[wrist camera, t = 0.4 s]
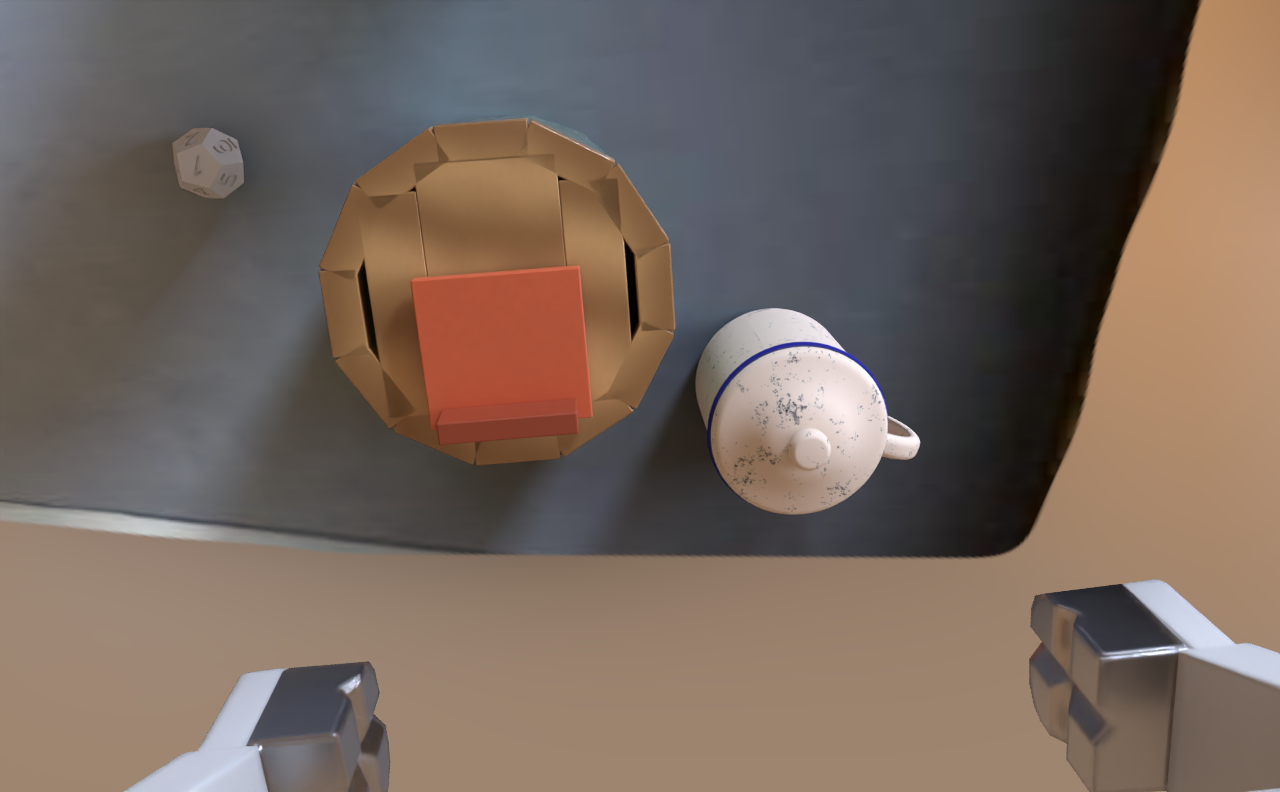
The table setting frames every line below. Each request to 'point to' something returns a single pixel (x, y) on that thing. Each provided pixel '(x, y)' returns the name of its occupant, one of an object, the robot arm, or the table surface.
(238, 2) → the table surface
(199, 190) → the game die
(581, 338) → the slider
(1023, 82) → the table surface
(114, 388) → the table surface
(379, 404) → the round tan lid
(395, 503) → the table surface
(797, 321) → the teacup with lid
